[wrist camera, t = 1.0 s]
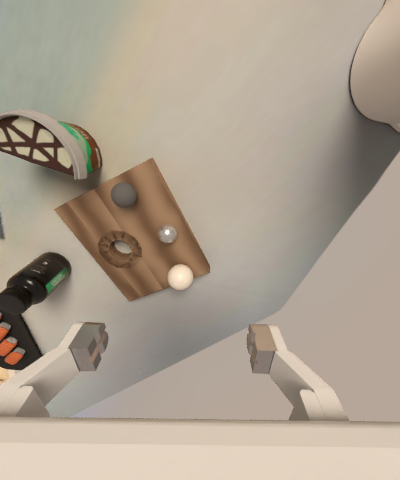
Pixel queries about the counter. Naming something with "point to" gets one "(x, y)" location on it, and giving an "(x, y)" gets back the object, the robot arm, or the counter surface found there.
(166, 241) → the steel ball
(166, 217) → the board
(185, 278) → the cream plastic ball
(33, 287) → the supplement bottle
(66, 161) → the food container
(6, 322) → the sushi plate
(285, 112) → the counter surface
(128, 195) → the gray rubber ball
